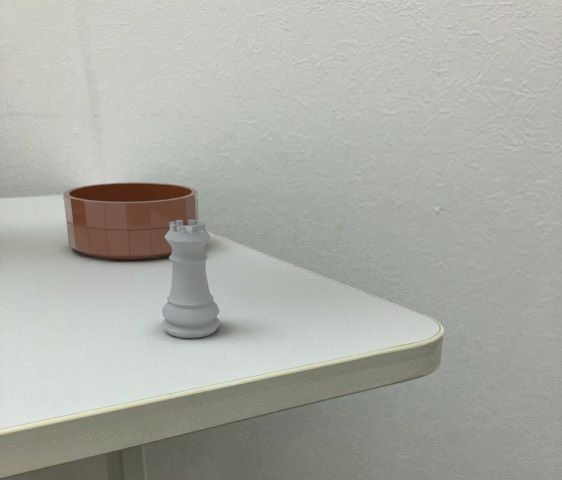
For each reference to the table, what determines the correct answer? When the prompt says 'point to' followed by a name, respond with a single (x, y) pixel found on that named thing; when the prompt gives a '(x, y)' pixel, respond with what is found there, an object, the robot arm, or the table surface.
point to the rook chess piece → (189, 284)
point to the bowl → (127, 218)
